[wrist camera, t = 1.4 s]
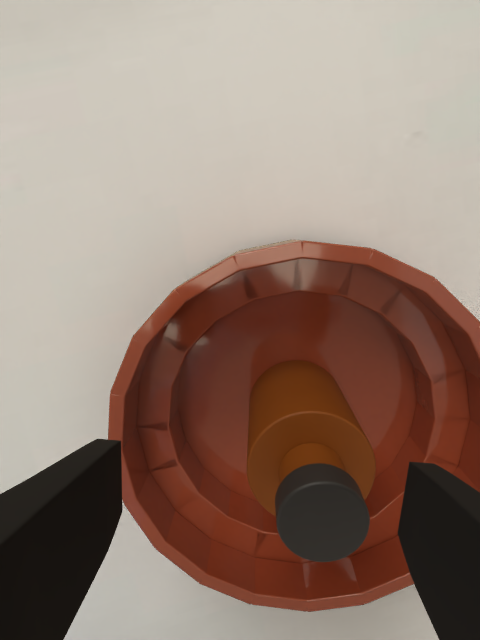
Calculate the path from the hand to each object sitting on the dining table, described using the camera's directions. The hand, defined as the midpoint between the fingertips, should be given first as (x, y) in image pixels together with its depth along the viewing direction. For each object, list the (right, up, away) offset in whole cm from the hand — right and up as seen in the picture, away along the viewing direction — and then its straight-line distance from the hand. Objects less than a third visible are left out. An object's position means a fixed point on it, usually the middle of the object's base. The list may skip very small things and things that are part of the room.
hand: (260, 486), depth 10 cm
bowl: (+2, 0, +10) cm, 10 cm away
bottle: (+2, 0, +9) cm, 9 cm away
